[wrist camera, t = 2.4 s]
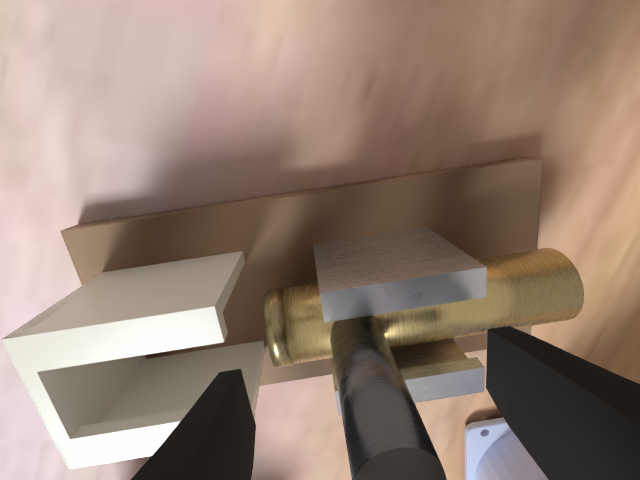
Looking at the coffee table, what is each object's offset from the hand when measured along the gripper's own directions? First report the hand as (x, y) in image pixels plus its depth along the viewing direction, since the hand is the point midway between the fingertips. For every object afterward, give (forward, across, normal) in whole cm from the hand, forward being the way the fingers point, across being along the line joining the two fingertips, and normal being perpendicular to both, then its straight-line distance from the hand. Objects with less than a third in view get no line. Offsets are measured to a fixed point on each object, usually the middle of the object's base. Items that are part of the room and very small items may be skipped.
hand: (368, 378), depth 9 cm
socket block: (+7, +7, 0) cm, 10 cm away
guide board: (+7, +1, 0) cm, 7 cm away
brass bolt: (+5, -3, 0) cm, 5 cm away
